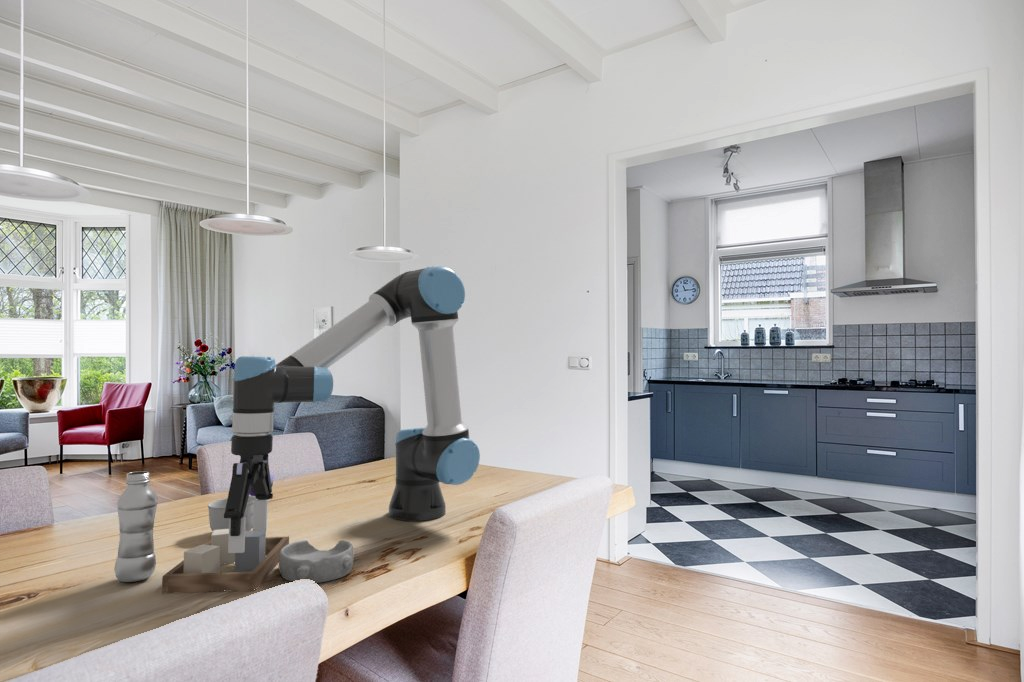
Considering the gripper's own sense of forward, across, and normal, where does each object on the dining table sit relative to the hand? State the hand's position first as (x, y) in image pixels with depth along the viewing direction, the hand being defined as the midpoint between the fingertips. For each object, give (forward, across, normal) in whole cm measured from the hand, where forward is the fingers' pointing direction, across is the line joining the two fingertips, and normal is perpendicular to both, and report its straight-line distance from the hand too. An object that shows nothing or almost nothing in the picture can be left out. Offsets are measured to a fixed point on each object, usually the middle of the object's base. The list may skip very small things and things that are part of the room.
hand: (248, 541), depth 117 cm
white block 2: (+6, -6, -7) cm, 10 cm away
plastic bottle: (+6, +4, -19) cm, 20 cm away
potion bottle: (+5, -58, -16) cm, 61 cm away
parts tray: (+6, 0, -3) cm, 6 cm away
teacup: (+6, -26, -11) cm, 29 cm away
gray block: (+6, 0, 0) cm, 6 cm away
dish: (+6, +3, +14) cm, 15 cm away
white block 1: (+6, +5, -7) cm, 10 cm away
